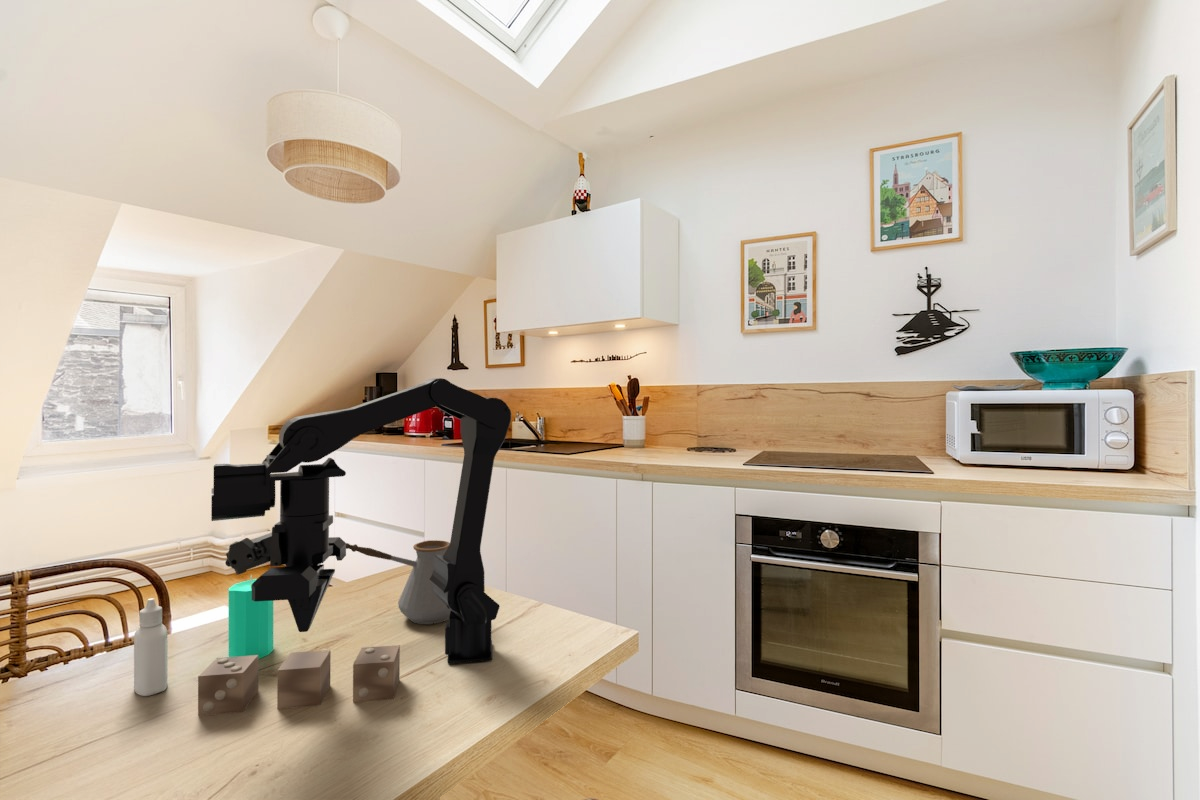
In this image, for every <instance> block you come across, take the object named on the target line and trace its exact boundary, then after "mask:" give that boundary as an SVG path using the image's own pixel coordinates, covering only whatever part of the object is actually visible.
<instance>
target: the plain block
mask: <svg viewBox="0 0 1200 800" xmlns="http://www.w3.org/2000/svg"><path fill="white" fill-rule="evenodd" d="M331 658H332V656H331V649H327V650H323V649H322V650H313V651H312V650H311V651H309V650H308V651H297V652H295V651H294V652H290V653H289V654H288V655H287V657H286V659H284V661H282V664H281V665H280V666H279V668H278V669H277V678H276V679H277V682H276V683H277V687H276V688H277V690H276V691H277V697H276V699H277V703H276V704H277V706H276V707H277V710H280V709H282V710H283V709H291V708H292V709H294V708H303V707H316V706H321V704H322V702H323V700H324V698H325V697H326V695H327V693H328V691H329V689H330V687H331Z"/></svg>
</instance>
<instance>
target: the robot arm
mask: <svg viewBox="0 0 1200 800" xmlns="http://www.w3.org/2000/svg"><path fill="white" fill-rule="evenodd" d="M433 408H437V409H439V410H440V411H443V412H445V413H446V414H448V415H450V416H452V417H453V418H456V419H457V420H460V437H461V442H462V447H463V451H464V452H463V453H464V454H463V462H462V468H461V473H460V478H459V479H460V480H459V485H458V486H459V487H458V491H457V497H456V499H457V500H456V504H455V511H454V517H453V523H452V529H451V535H450V541H449V543H450V545H449V547H448V549H447V550H446V552H445V553H444V555H443V556H441V555H435V556H434V570H433V573H432V576H431V577H430V579H429V580H430V581H431V582H432V583H433V589H434V592H435V594H436V595H437V596H438V597H439V598H440V599H441V600H442V601H443V602H444V603H445V604H446V606H447V608H448V609H450V610H452V611H450V617H449V619H448V620H446V623H445V629H444V655H446V656H447V664H448V665H449V664H451V665H452V664H464V663H466V664H467V663H476V662H477V663H479V662H489V661H492V660H493V640H492V621H494V620H495V619H497V615H498V614H499V609H500V604H499V603H498V602H496V601H495V600H494V599H493V598H492V597H490V596H489V595H488V594H487V593H485V587H486V586H485V568H484V567H485V566H484V563H483V559H482V554H481V553H482V552H481V547H482V546H481V545H482V538H483V534H484V526H485V522H486V521H485V520H486V512H487V507H488V500H489V493H490V489H491V483H492V482H491V481H492V475H493V468H494V464H495V463H494V462H495V457H496V456H497V453H498V452H499V450H500V449H501V447H502V445H503V443H504V442H505V440H506V437H507V434H508V431H509V428H510V425H511V422H512V411H511V408H510V407H509V406H508V404H507V403H506V402H505V401H504V400H502V399H500V398H499V397H498V398H497V397H484V396H482V395H480V394H477V393H475V392H473V391H471V390H468V389H465V388H463V387H460V386H458V385H456V384H454V383H452V382H450V381H449V380H448V379H446V378H442V377H441V378H440V377H438V378H428V379H427V380H425V381H424V382H422V383H418V384H417V385H413V386H411V387H408V388H404V389H401V390H399V391H396V392H393V393H390V394H387V395H384V396H381V397H379V398H375V399H373V400H369V401H367V402H363V403H361V404H358V405H355V406H352V407H349V408H345V409H338V410H331V411H323V412H316V413H310V414H305V415H298V416H295V417H292V418H291V419H289V420H287V421H285V423H283V425H282V427H281V428H280V431H279V432H278V433H279V435H278V441H279V442H278V443H277V444H276V445H275V446H274V448H273V449H272V450H271V451H270V452H269V453H268V454H267V455H266V457H265V458H264V460H263V461H262V462H261V463H247V464H231V463H230V464H229V463H215V464H214V465H213V488H212V487H211V507H210V508H211V514H210V515H211V517H210V518H211V520H210V521H211V522H215V521H226V520H227V521H229V520H237V519H238V520H239V519H247V518H249V519H250V518H258V517H264V516H266V511H270V510H271V508H275V505H276V482H277V481H280V483H279V484H280V485H279V487H280V488H279V491H280V492H279V495H280V496H279V497H280V500H279V507H280V509H279V521H278V522H276V523H275V524H274V525H273V526H272V528H271V532H270V533H267V534H263V535H260V536H258V537H255V538H253V539H250V538H249V537H245V538H242V539H241V540H240V541H233V542H232V543H231V544H230V545H229V547H228V548H229V549H228V551H227V553H225V556H226V560H225V566H227V567H230V568H231V569H233V570H234V571H235V574H236V575H242V574H244V573H246V572H247V571H248V570H250V569H253V568H256V567H258V566H261V565H264V564H267V563H269V562H270V563H269V566H270V567H269V568H268V569H267V570H266V571H264V572H263V573H262V574H261V575H260V576H259V577H257V578H256V579H257V580H256V581H255V582H254V583H253V584H252V600H253V601H273V602H274V601H288V604H289V607H290V610H291V612H292V615H293V618H294V621H295V624H296V627H297V630H298V632H299V633H305V632H306V633H307V632H308V631H309V630H310V628H311V626H312V625H313V621H314V619H315V617H316V615H317V612H318V610H319V607H320V606H321V603H322V601H323V598H324V596H325V594H326V592H327V590H328V588H329V585H330V583H331V580H332V579H333V576H334V574H335V571H336V569H335V568H325V564H324V563H325V561H326V560H328V558H329V557H335V559H336V560H337V561H342V560H344V558H345V557H346V556H347V549H346V543H347V542H345V541H344V540H343V539H342V538H341V537H340V536H337V537H334V536H333V537H331V536H330V535H329V534H330V526H331V525H332V524H333V523H334V515H330V478H337V477H338V478H339V477H340V478H341V477H345V476H346V474H347V472H346V471H345V470H344V469H342V468H341V467H340V466H339V465H338V464H337V463H336V461H335V459H333V458H332V457H328V458H326V460H324V462H322V463H319V464H318V463H317V464H316V463H314V464H301V463H313V462H317V461H319V460H322V459H323V458H325V457H327V456H329V455H330V454H332V453H333V452H335V451H337V450H340V449H341V448H342V447H344V446H345V445H347V444H348V443H350V442H351V441H353V440H354V439H356V438H357V437H359V436H361V435H363V434H365V433H368V432H371V431H373V430H377V429H380V428H382V427H384V426H387V425H390V424H392V423H395V422H398V421H400V420H402V419H403V420H404V419H406V418H408V417H411V416H415V415H417V414H420V413H422V412H425V411H428V410H431V409H433ZM297 466H298V471H292V472H290V470H293V468H295V467H297ZM329 536H330V537H329ZM283 565H284V566H283Z"/></svg>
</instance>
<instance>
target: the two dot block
mask: <svg viewBox="0 0 1200 800" xmlns="http://www.w3.org/2000/svg"><path fill="white" fill-rule="evenodd" d="M400 647H401V645H400V644H396V645H381V646H369V647H368V646H365V647H364V646H363V647H361V648H360V650H359V652H358V654H357V656H356V659H355V660H354V662H353V664H352V702H353V703H359V702H360V703H361V702H371V701H372V702H373V701H384V700H394V699H395V695H396V693H397V689H398V686H399V682H400V675H401V674H400V673H401V672H400V668H401V667H400V660H401V658H400V657H401V656H400V655H401V653H400V652H401V648H400Z"/></svg>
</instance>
